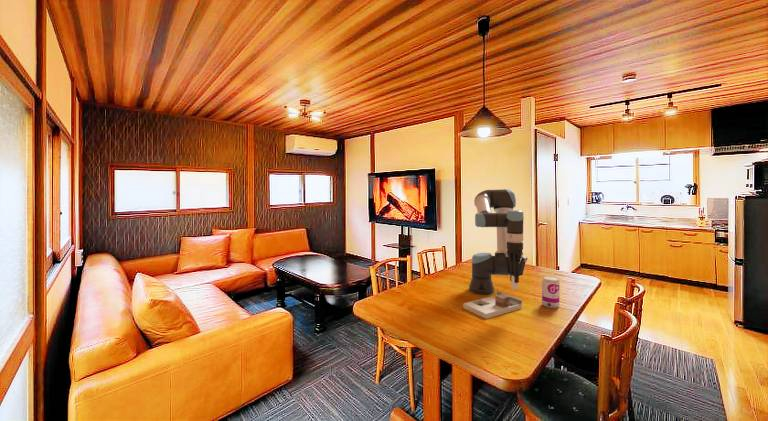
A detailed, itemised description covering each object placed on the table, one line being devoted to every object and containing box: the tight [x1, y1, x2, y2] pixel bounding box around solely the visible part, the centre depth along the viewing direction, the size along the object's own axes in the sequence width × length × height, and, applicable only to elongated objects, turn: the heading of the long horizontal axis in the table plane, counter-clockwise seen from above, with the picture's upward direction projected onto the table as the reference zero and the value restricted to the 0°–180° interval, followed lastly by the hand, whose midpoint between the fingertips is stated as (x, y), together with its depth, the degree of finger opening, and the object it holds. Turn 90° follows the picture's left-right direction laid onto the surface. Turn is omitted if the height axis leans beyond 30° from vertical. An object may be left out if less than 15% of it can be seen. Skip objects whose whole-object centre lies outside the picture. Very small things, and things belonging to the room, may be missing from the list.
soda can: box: [541, 276, 561, 309], centre depth 163 cm, size 8×8×15 cm
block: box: [494, 293, 510, 308], centre depth 159 cm, size 5×5×5 cm
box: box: [462, 291, 523, 320], centre depth 162 cm, size 26×16×4 cm, turn 118°
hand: (514, 288), depth 151 cm, fingers closed
